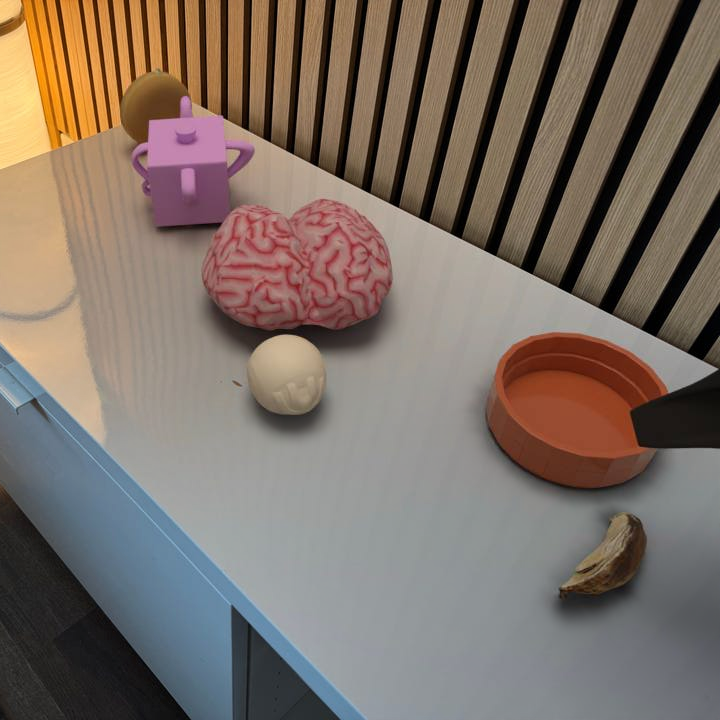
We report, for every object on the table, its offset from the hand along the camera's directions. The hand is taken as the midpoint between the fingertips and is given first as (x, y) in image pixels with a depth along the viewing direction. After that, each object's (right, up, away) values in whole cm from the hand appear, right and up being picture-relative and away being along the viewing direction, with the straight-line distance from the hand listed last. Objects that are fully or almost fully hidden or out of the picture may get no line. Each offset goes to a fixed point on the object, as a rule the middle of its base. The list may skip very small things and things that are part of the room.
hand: (662, 426), depth 44 cm
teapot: (-30, +23, +46) cm, 59 cm away
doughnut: (-35, +32, +56) cm, 73 cm away
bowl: (+3, -2, +21) cm, 21 cm away
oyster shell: (+1, -11, +11) cm, 16 cm away
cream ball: (-20, 0, +24) cm, 31 cm away
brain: (-19, +11, +34) cm, 40 cm away
